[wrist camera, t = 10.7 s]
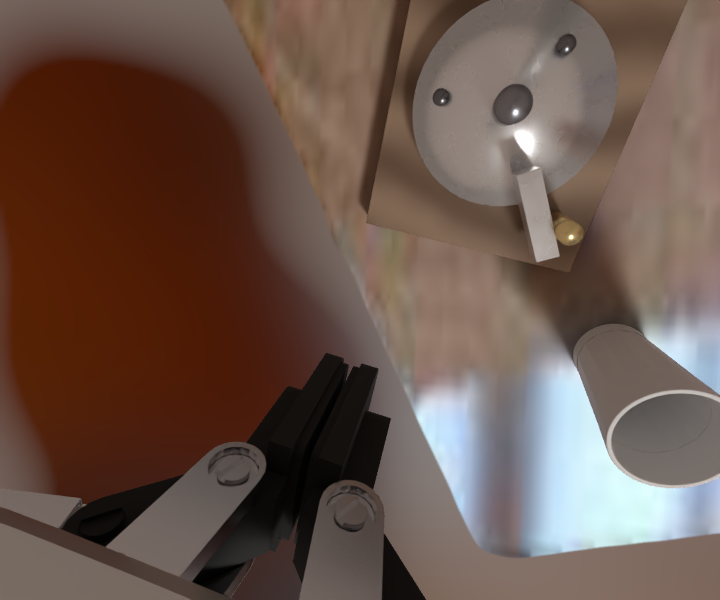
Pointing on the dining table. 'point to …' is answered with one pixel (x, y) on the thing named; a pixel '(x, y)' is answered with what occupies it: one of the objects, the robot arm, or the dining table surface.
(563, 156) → the flange plate
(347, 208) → the dining table surface
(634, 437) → the cup
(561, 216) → the post and dowel
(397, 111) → the base board
